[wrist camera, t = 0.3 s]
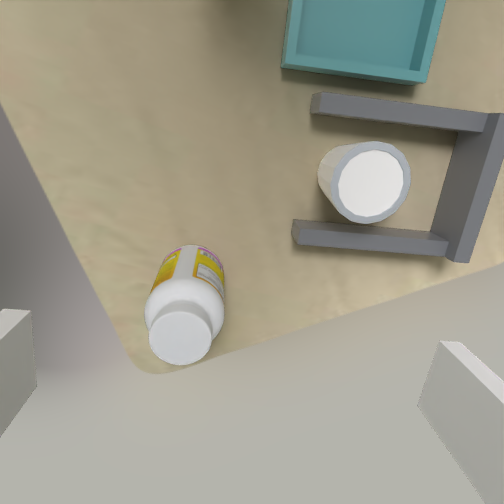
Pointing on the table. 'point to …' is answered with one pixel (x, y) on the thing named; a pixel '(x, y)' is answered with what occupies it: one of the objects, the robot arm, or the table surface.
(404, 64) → the tray
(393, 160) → the shot glass
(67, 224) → the table surface
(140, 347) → the table surface
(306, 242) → the bay
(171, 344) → the supplement bottle
